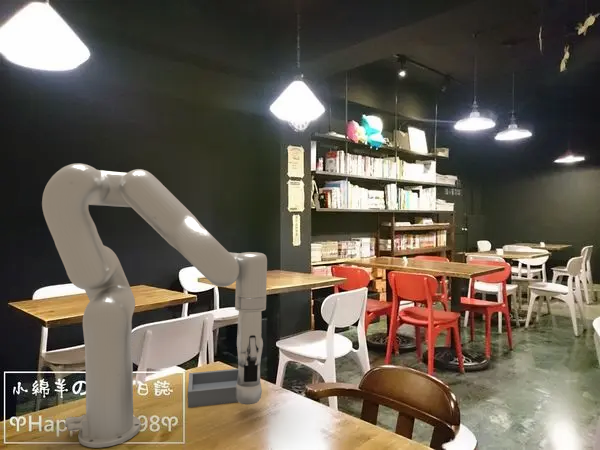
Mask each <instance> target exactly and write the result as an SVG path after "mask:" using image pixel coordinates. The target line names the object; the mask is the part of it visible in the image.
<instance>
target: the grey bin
mask: <svg viewBox="0 0 600 450" xmlns="http://www.w3.org/2000/svg"><path fill="white" fill-rule="evenodd" d="M237 378H238V368H231V369H219V370H208V371H199V372H197V371H196V372H189V373H188V386H187V408H197V407H198V408H199V407H205V406H206V407H207V406H215V405H223V404H224V405H225V404H235V403H239V402H238V401H237V399H236V395H235V389H236V384H237Z"/></svg>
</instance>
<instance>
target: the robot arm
mask: <svg viewBox="0 0 600 450" xmlns="http://www.w3.org/2000/svg"><path fill="white" fill-rule="evenodd" d="M89 206H102V207H103V206H108V207H118V208H119V207H124V208H132V209H133V210H134V211H135V212H136V214H138V216H140V217H141V218H142V219H143V220H144V221H145V222H146V223H148V225H149V226H151V227H152V229H153V230H154V231H156V233H157V234H159V235H160V236H161V237H162V239H164V240H165V242H167V244H169V246H171V247H172V248H174V249H176V251H178V253H180V255H182V257H183V258H185V259H186V260H187V261H188V262H189V263H190V264H191V265H192V266H193V267H194V268H195V269H196V270H197V271H198V272H199V273H200V274H202V275H203V277H205V279H207V281H208V282H209V283H211V284H212V285H214V286H216V287H220V288H221V287H222V288H225V287H228V286H231V285H233V284H234V283H235V301H234V303H235V305H234V309H235V310H236V311H237V312H238V317H237V318H238V319H237V334H236V336H237V337H236V342H237V341H239V352H240V353H241V354H243V352H245V365H244V382H256V381H257V373H258V364H257V353H258V352H260V349H261V338H262V319H263V318H262V312H263V311H266V309H267V283H268V282H267V280H268V279H267V277H268V275H267V274H268V258H267V255H266V254H264V253H262V252H257V251H255V252H251V251H248V252H247V251H246V252H241V253H239V252H238V253H237V252H230V251H228V250H227V248H225V247H224V246H223V245H222V244H221V243H220V242H219V241H218V240H217V239H216V238H215V237H214V236H213V235H212V234H211V233H210V232H209V231H208V230H207V229H206V228H205V227H204V226H203V224H201V222H200V221H199V220H198V219H197V217H196V216H195V215H194V214H193V213H192V212H191V211H190V210H189V209H188V208H187V207H186V206H185V205H184V204H183V203H182V202H181V201H180V200H179V199H178V198H177V197H176V196H175V195H174V194H173V193H172V192H171V191H170V190H169V189H168V188H167V187H165V185H163V183H162V182H161V181H160V180H159V179H158V178H157V177H156V176H155V175H153V174H152V173H151V172H149V171H148V170H146V169H145V170H144V169H141V168H140V169H139V168H137V169H133V170H130V171H128V172H123V171H121V172H120V171H111V170H103V169H100V170H99V169H96V168H95V167H93V166H91V165H88V164H86V163H71V164H68V165H65V166H63V167H61V168H60V169H59V170H58V171H56V172H55V173H54V174H53V175H52V176H51V177H50V179H49V180H48V182H47V183H46V185H45V188H44V190H43V193H42V201H41V207H42V212H43V213H42V214H43V217H44V219H45V222H46V225H47V228H48V230H49V232H50V235H51V237H52V239H53V241H54V244H55V248H56V250H57V252H58V254H59V257H60V259H61V261H62V264H63V266H64V268H65V271H66V275H67V277H68V279H69V281H70V282H71V283H72V284H73V285H74V286H75V287H76V288H78V289H81V290H84V291H85V293H86V296H87V298H88V300H89V301H88V303H87V305H86V307H85V308H84V312H83V316H82V331H83V340H84V341H83V343H84V355H85V357H84V359H85V360H84V361H85V362H84V364H85V365H84V366H85V414H82V415H81V416H72V417H66V418H65V421H64V427H65V428H67V431H68V432H70V431H71V432H72V431H76V430H79V432H78V442H79V444H81V445H82V446H83V447H87V448H92V449H93V448H95V449H97V448H98V449H100V448H101V449H103V448H109V447H112V446H116V445H120V444H122V443H125V442H126V441H129V440H130V439H132V438H134V437H135V436H136V435H137V434H138V433H139V432H140V430H141V428H142V427H141V424H142V423H141V420H140V419H139V418H138V417H137V416H135V415H134V374H133V372H134V371H133V370H134V369H133V368H134V367H133V365H134V364H133V333H132V332H133V331H132V329H133V327H132V325H133V323H132V321H133V315H134V312H135V310H136V309H135V308H136V299H135V296H134V293H133V290H132V288H131V286H130V284H129V281H128V278H127V277H126V274H125V272H124V269H123V267H122V264H121V262H120V260H119V258H118V256H117V254H116V253H115V252H114V251H113V249H111V248H110V247H108V246H107V245H104V244H103V241H102V239H101V237H100V234H99V233H98V229H97V226H96V224H95V222H94V220H93V218H92V216H91V214H90V211H89ZM255 345H256V346H255ZM248 348H250V352H247V349H248ZM257 348H258V349H257ZM257 351H258V352H257ZM248 354H250V356H249V357H248Z"/></svg>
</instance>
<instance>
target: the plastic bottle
mask: <svg viewBox="0 0 600 450" xmlns="http://www.w3.org/2000/svg"><path fill="white" fill-rule="evenodd" d="M263 341H264V340H263V338H262V337H261V349H260V352H258V351H257V352H258V353H257V364H258V373H257V381H256V382H244V365H245V352H243V354H241V353H240V352H239V341H237V340H236V347H237V348H236V350H237V359H238V361H237V363H238V365H237V366H238V367H237V369H238V378H237V384H236V389H235V395H236V399H237V401H238V402H237V403H239V404H241V405H246V406H247V405H248V406H249V405H250V406H251V405H254V404H257V403H259V401H260V399H261V397H262V393H263V389H262V382H261V359H262V354H263V347H264V342H263ZM255 346H256V345H255ZM257 349H258V348H257ZM247 352H250V348H248V349H247ZM249 356H250V354H248V357H249Z"/></svg>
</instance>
